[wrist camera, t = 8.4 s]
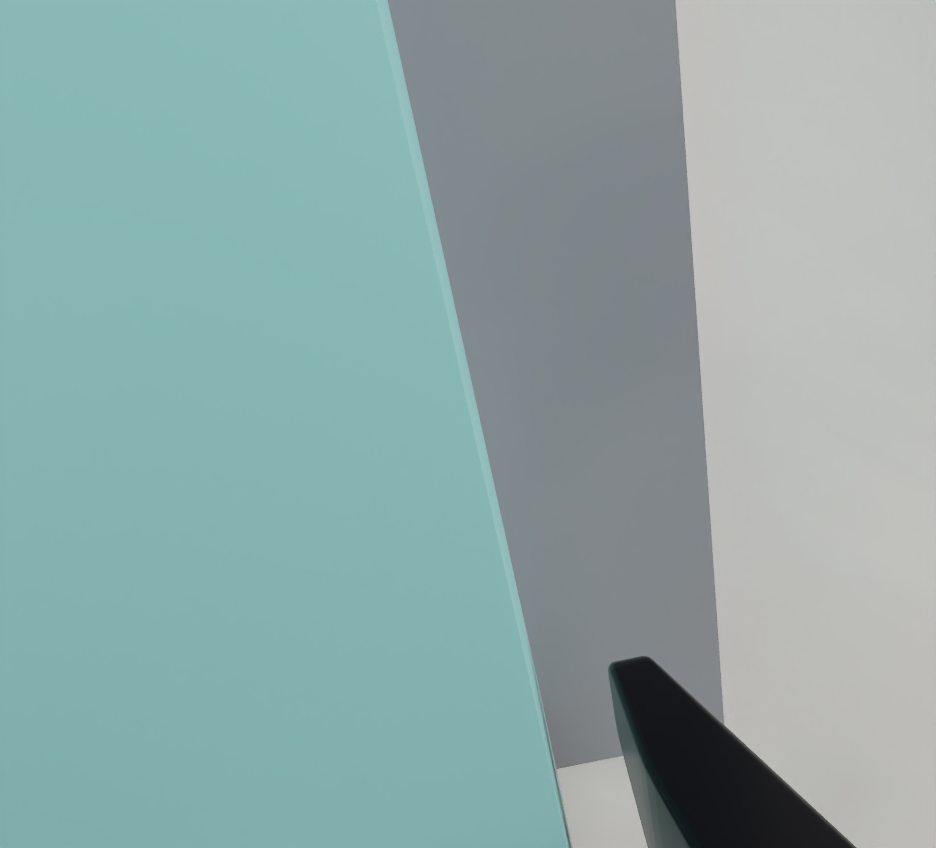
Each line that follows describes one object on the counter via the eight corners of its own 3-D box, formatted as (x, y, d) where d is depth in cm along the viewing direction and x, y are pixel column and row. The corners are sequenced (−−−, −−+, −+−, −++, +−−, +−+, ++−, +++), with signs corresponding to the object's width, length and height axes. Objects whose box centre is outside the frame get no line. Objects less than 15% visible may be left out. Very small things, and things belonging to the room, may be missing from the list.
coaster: (706, 694, 13) (724, 735, 12) (147, 807, 13) (133, 853, 12) (605, -590, 6) (630, -664, 6) (-497, -333, 7) (-605, -374, 6)
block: (543, 708, 12) (634, 1144, 7) (268, 765, 12) (190, 1230, 7) (291, -437, 6) (12, -1612, 2) (-226, -311, 6) (-1802, -1108, 2)
